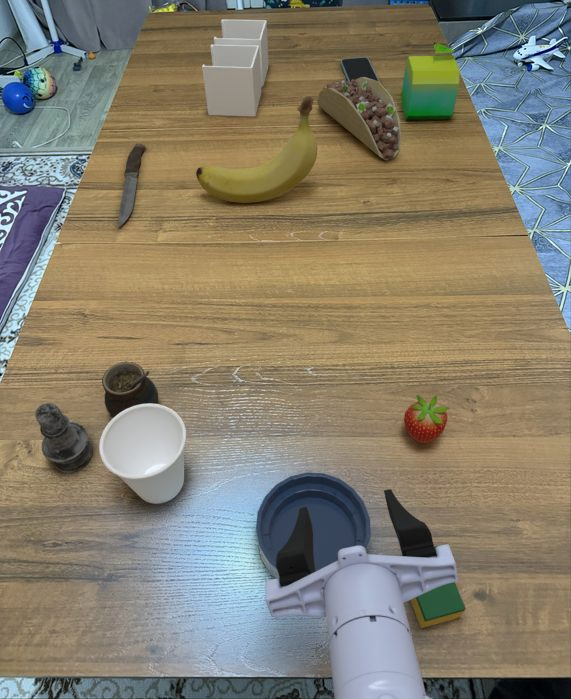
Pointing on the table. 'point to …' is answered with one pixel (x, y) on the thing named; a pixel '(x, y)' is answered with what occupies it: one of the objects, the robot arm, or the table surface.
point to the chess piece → (63, 439)
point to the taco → (365, 113)
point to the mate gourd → (127, 387)
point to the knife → (130, 182)
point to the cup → (146, 450)
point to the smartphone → (358, 68)
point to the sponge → (438, 605)
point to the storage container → (237, 68)
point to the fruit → (425, 419)
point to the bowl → (312, 518)
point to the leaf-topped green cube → (430, 85)
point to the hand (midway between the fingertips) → (347, 506)
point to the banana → (267, 168)
